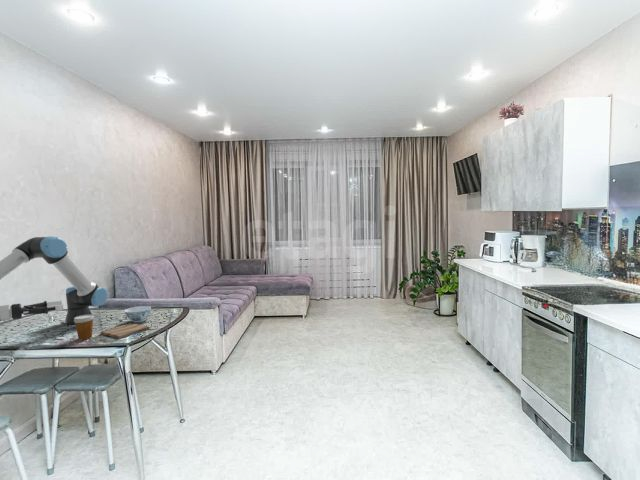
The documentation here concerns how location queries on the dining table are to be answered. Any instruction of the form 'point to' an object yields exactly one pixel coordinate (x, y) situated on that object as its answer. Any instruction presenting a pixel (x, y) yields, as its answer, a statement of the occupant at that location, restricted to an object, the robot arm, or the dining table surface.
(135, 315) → the chinaware
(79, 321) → the disposable coffee cup
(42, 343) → the dining table surface
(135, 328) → the walnut board
